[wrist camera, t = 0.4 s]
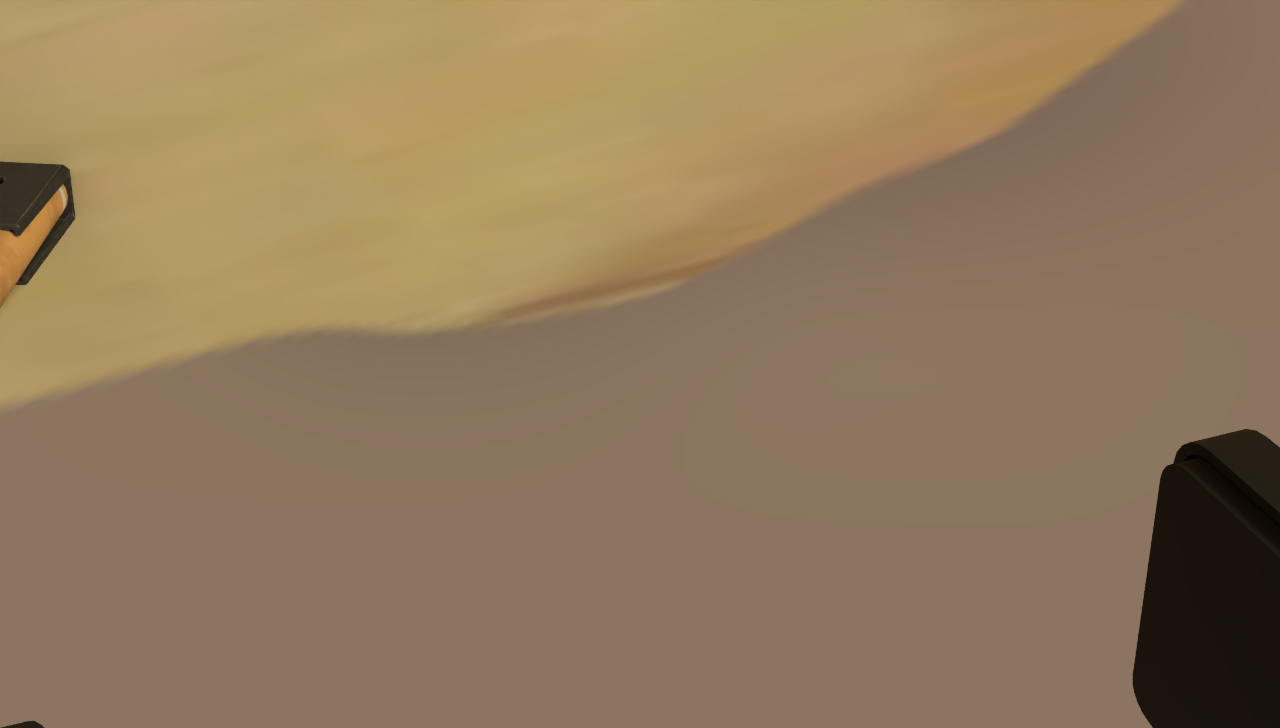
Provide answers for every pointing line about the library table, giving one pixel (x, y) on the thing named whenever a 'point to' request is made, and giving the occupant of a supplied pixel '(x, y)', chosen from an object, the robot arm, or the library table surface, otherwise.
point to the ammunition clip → (31, 218)
